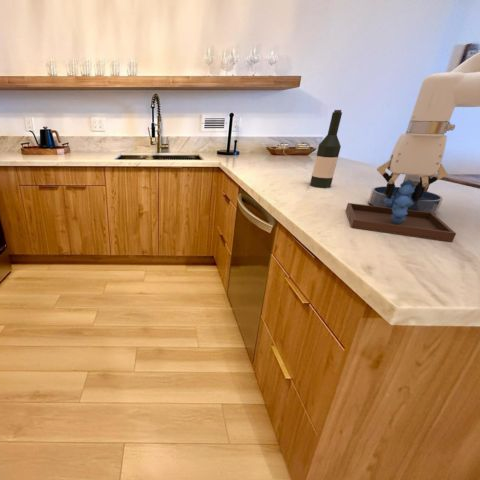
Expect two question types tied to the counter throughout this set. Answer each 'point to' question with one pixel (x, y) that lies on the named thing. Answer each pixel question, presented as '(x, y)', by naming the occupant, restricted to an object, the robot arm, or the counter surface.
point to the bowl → (425, 203)
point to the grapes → (401, 201)
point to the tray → (412, 226)
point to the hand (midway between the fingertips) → (401, 198)
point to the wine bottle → (327, 155)
